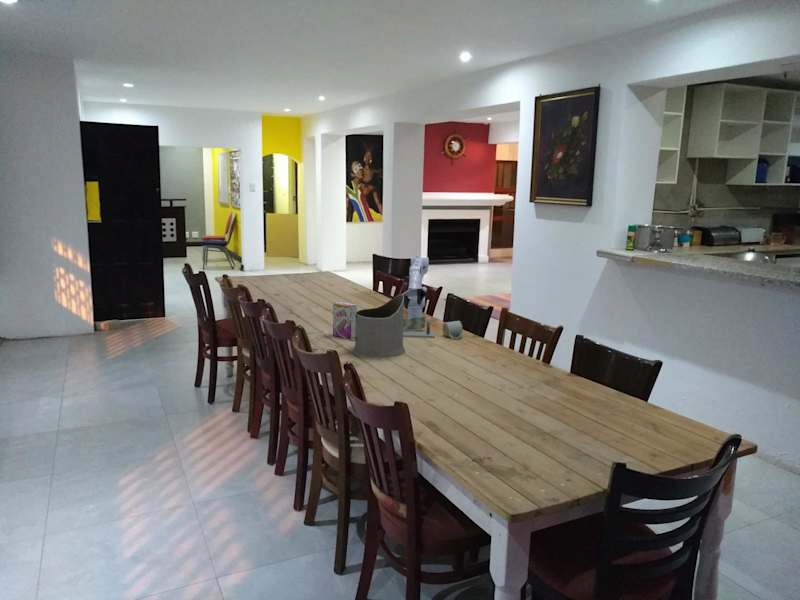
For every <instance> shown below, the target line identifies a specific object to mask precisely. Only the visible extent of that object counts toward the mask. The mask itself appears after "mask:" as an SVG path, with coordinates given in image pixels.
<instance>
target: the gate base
mask: <svg viewBox="0 0 800 600" xmlns="http://www.w3.org/2000/svg"><path fill="white" fill-rule="evenodd" d="M418 337H426V338H427V337H429V338H427V339H430V338H431V339H435V332H434V331H431V322H430V321H427V322H426V331H416V330H414V331H413V330H407V331H403V338H418ZM426 338H425V339H426Z"/></svg>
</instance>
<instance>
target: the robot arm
mask: <svg viewBox="0 0 800 600" xmlns="http://www.w3.org/2000/svg"><path fill="white" fill-rule="evenodd" d="M429 260H430V258H429V257H428V256H427V257H421V256H420V257H419V256H418V257H417V256H411V259H410V266H409V282H408V288H407V290H406V291H405V292H403V293H401V294H400V295H403V296H404V309H405V310H408V315H407V316H408V317H407V318H415V317H423V308H424V307H425V305H426V296H427V294H426V292H427V290H428V288H427V287H426V286H422V284H423V279H424V276H425V275H426V274H428V272H429V265H430V264H429V263H430V261H429Z"/></svg>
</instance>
